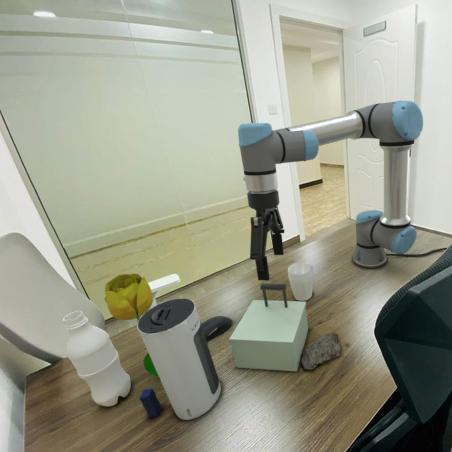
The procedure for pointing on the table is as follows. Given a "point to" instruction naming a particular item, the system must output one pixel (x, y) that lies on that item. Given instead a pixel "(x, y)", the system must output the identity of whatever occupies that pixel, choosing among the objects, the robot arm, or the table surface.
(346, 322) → the table surface
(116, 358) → the water bottle
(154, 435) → the table surface
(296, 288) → the cup
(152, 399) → the eraser
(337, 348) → the stone
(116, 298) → the flower
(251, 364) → the chest
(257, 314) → the lid
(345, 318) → the table surface
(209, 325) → the computer mouse
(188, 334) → the white cylindrical appliance
